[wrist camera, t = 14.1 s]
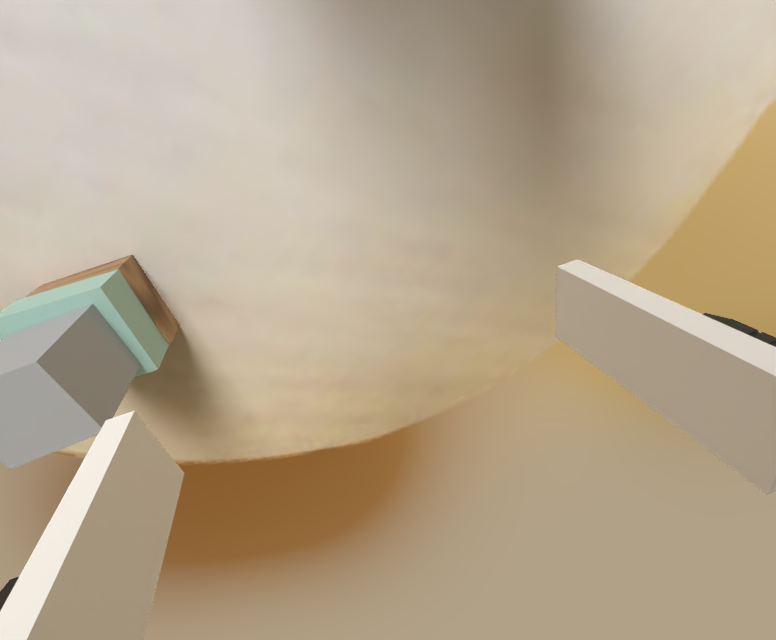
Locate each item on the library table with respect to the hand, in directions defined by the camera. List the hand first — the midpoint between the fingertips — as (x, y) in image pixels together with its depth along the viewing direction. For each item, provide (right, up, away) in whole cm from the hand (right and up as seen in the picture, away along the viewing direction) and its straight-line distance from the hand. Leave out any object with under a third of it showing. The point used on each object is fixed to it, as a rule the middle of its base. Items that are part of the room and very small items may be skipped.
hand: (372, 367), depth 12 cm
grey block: (-24, -1, +18) cm, 29 cm away
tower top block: (-25, +1, +21) cm, 32 cm away
